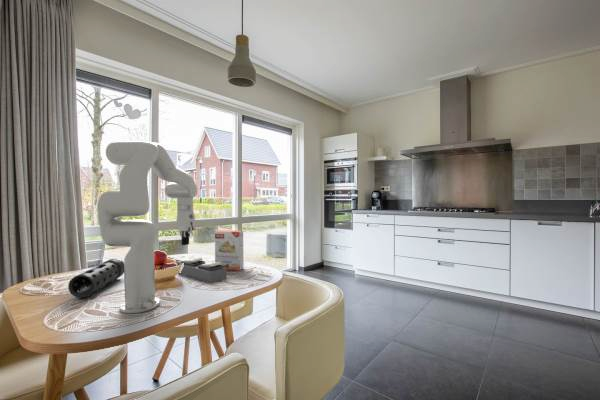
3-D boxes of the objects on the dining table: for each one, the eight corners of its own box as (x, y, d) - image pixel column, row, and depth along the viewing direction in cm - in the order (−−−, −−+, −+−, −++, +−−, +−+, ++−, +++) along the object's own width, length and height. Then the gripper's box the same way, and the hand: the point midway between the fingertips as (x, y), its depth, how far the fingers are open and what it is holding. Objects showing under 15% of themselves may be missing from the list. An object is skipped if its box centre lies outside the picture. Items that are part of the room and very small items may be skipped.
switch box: (226, 277, 136) (226, 265, 136) (210, 282, 129) (210, 269, 128) (194, 269, 151) (194, 258, 151) (178, 273, 144) (178, 261, 143)
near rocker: (220, 265, 135) (219, 261, 135) (211, 268, 131) (211, 264, 131) (209, 265, 140) (209, 262, 140) (201, 268, 136) (200, 264, 136)
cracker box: (214, 270, 149) (214, 231, 149) (219, 267, 155) (219, 229, 155) (239, 271, 147) (239, 231, 147) (243, 268, 153) (243, 230, 153)
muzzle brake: (67, 301, 108) (66, 274, 108) (106, 279, 136) (105, 257, 135) (94, 300, 109) (94, 273, 109) (127, 278, 137) (127, 257, 137)
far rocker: (202, 261, 143) (201, 257, 143) (193, 263, 139) (193, 259, 139) (193, 262, 148) (192, 258, 148) (184, 264, 144) (184, 260, 144)
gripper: (200, 208, 141) (200, 245, 141) (183, 208, 150) (183, 242, 150) (187, 208, 135) (187, 247, 135) (170, 208, 144) (170, 244, 144)
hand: (185, 244), depth 142 cm, fingers closed
